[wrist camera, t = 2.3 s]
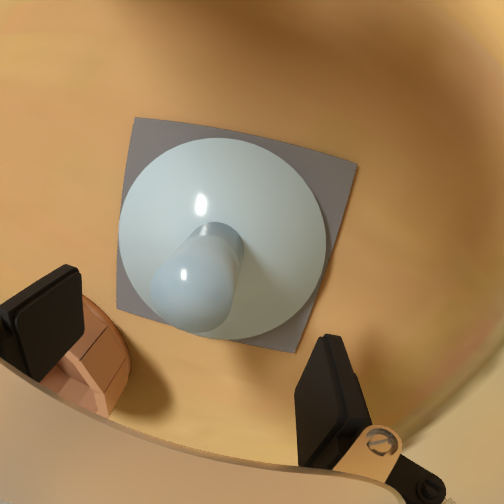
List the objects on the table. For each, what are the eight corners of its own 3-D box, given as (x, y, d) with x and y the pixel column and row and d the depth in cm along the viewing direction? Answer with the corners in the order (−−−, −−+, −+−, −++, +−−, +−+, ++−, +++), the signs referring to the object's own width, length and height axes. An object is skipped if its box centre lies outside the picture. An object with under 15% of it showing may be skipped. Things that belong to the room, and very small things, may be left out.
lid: (140, 125, 15) (72, 115, 9) (347, 169, 16) (398, 179, 9) (122, 304, 20) (75, 360, 13) (289, 347, 20) (295, 421, 13)
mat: (137, 117, 16) (135, 117, 15) (355, 163, 16) (357, 163, 15) (118, 306, 20) (116, 308, 20) (293, 350, 20) (294, 353, 20)
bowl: (26, 270, 20) (-12, 295, 15) (129, 309, 20) (96, 351, 15) (45, 362, 24) (21, 390, 19) (134, 402, 24) (115, 441, 19)
